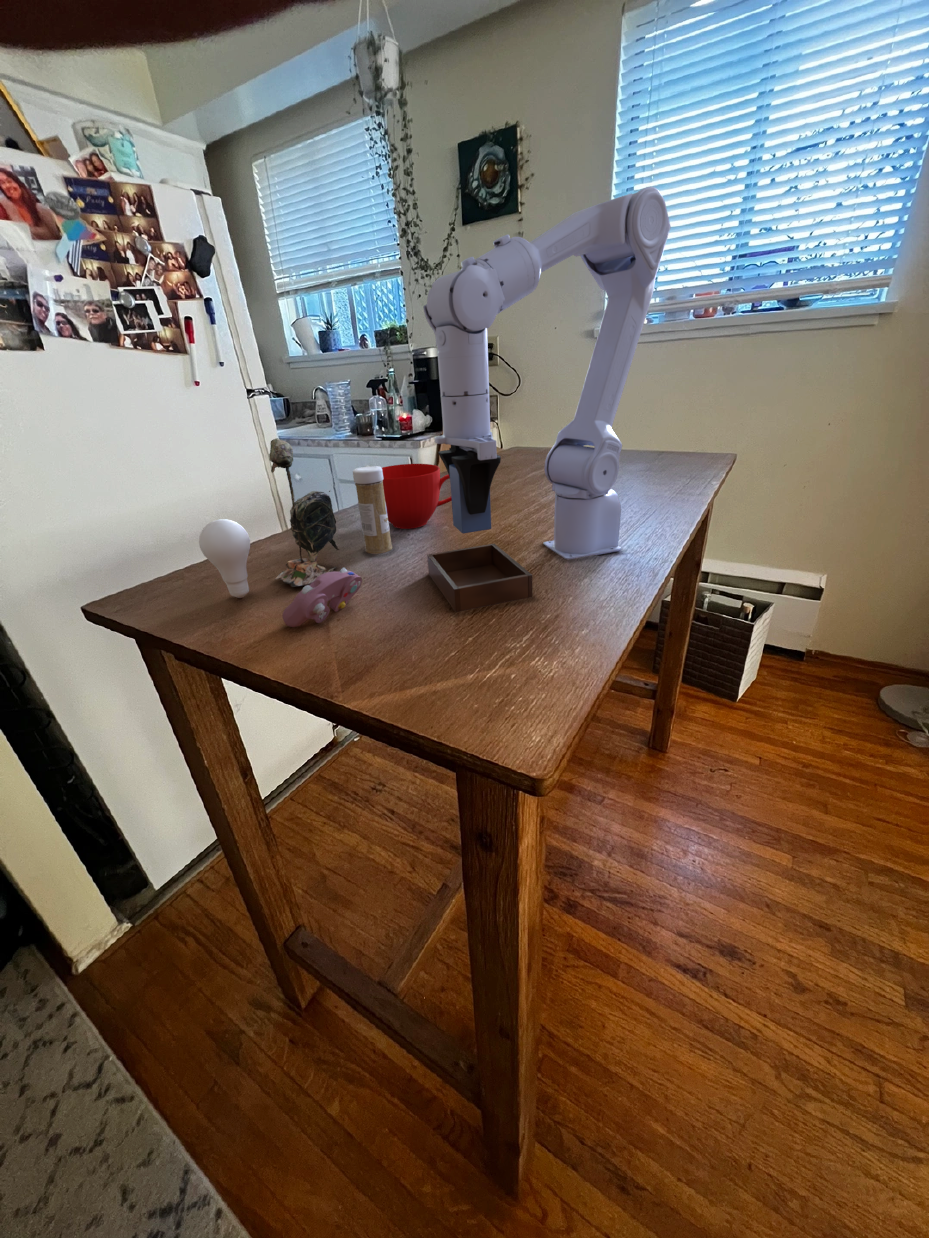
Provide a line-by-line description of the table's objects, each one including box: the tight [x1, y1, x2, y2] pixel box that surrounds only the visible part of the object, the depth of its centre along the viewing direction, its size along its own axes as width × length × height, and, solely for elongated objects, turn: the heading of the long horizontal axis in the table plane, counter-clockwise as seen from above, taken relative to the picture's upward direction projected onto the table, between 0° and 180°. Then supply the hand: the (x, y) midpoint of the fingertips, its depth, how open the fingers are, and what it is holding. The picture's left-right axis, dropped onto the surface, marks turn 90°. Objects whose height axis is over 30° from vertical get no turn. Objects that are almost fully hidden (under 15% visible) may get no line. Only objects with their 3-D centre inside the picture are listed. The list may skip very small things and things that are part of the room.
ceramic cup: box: [381, 463, 452, 530], centre depth 94 cm, size 13×17×10 cm
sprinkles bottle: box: [352, 465, 393, 555], centre depth 80 cm, size 5×5×14 cm
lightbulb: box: [198, 518, 251, 599], centre depth 67 cm, size 6×6×11 cm
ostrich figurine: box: [268, 438, 340, 588], centre depth 71 cm, size 8×11×20 cm
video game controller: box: [282, 567, 363, 628], centre depth 62 cm, size 10×5×7 cm, turn 148°
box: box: [426, 543, 533, 613], centre depth 67 cm, size 10×13×3 cm
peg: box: [449, 464, 492, 534], centre depth 64 cm, size 4×4×8 cm
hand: (471, 508), depth 65 cm, fingers closed on peg, 4 cm apart
